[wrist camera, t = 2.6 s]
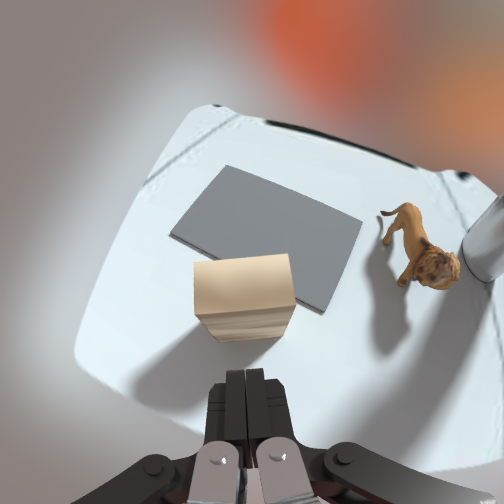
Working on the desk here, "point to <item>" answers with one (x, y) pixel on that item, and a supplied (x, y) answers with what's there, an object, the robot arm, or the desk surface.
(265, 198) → the slate mat
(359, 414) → the desk surface
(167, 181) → the desk surface
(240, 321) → the birch block
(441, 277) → the lion figurine
